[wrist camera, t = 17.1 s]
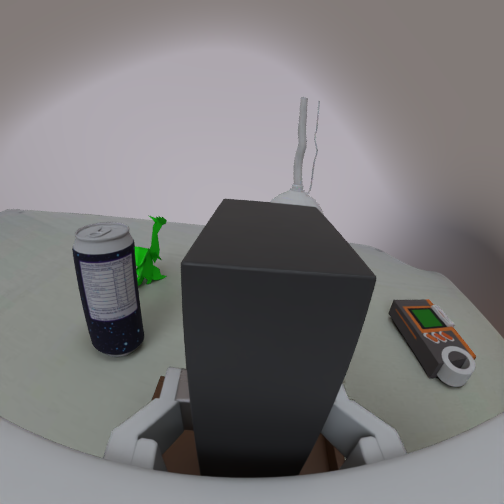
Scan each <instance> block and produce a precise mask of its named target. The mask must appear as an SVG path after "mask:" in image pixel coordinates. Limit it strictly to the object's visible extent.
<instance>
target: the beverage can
mask: <svg viewBox="0 0 504 504" xmlns="http://www.w3.org/2000/svg"><path fill="white" fill-rule="evenodd" d="M75 237H76V239H75V242H74V245H73V249H72V250H73V257H74V263H75V270H76V275H77V281H78V286H79V291H80V296H81V301H82V305H83V310H84V314H85V318H86V322H87V326H88V330H89V334H90V337H91V341H92V344H93V346H94V347H95V348H96V349H97V350H98V351H100V352H102V353H105V354H107V355H109V356H114V357H120V356H125V355H128V354H130V353H132V352H133V351H134V350H135V349H136V348H137V347H138V346H140V344H141V343H142V342H143V340H144V330H143V323H142V316H141V308H140V300H139V292H138V282H137V272H136V259H135V245H134V240H133V238H132V237H131V235H130V233H129V227H128V226H127V225H125V224H122V223H117V222H104V223H96V224H91V225H87V226H84V227H82V228H80V229H78V230H77V231H76V232H75Z"/></svg>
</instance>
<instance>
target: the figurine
mask: <svg viewBox="0 0 504 504" xmlns="http://www.w3.org/2000/svg"><path fill="white" fill-rule="evenodd" d="M150 217H151V216H150ZM151 218H152V219H153V221H154V222H155V224H154V225H153V232H152V242H151V247H150V249H149V248H148V249H147V248H142V247H136V246H135V259H136V266H138V267H137V269H136V272H137V275H138V276H139V277H138V278H137V282H138V286H139V285H141V284H142V282H143V279H144V277H145V278H146V279H147V280H148V281H147V283H146V284H149V283H151V282H152V280H160V279H163V278H165V277H166V276H164V275H161V273H160V269H158V268H157V267H155V266H154V265H153V261H154V263H155V262H156V260H157V258H158V259H160V260H161V258H160V257H159V251H160V249H159V242H158V235H157V234H158V232H159V230H160V228H161V227H162V225H164V224H166V219H164V218H163V217H162V218H161V217H159V218H158V217H156V218H154V217H151ZM152 259H153V260H152Z"/></svg>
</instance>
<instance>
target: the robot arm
mask: <svg viewBox="0 0 504 504" xmlns="http://www.w3.org/2000/svg"><path fill="white" fill-rule="evenodd" d="M184 430H191V431H193V423H192V415H191V407H190V398H189V389H188V379H187V369H184V368H182V369H181V368H174V367H169V368H168V369H167V372H166V376H165V379H164V383H163V387H162V391H161V395H160V399H159V398H155V399H154V400H152V401H151V402H150V403H149V404H147V405H146V406H145V407H143V408H142V409H141V410H139V411H138V412H137V413H135V414H134V415H133V416H131V417H130V418H129V419H127V420H126V421H125V422H123V423H122V424H120V425H119V426H118V427H116V428H115V429H114V430H112V432H111V435H110V438H109V441H108V444H107V447H106V450H105V453H104V457H103V458H101V457H97V456H94V455H91V454H87V453H84V452H81V451H78V450H75V449H72V448H70V447H67V446H64V445H62V444H59V443H56V442H54V441H51V440H49V439H46V438H44V437H42V436H39V435H37V434H35V433H33V432H31V431H28V430H26V429H24V428H22V427H20V426H18V425H16V424H14V423H12V422H10V421H8V420H7V419H5V418H3V417H1V416H0V504H504V412H502V413H500V414H498V415H497V416H495V417H493V418H491V419H489V420H487V421H485V422H483V423H481V424H480V425H477V426H475V427H473V428H471V429H469V430H467V431H465V432H463V433H460V434H458V435H456V436H454V437H451V438H449V439H446V440H444V441H441V442H439V443H436V444H434V445H431V446H428V447H425V448H423V449H420V450H417V451H414V452H411V453H408V454H407V452H406V450H405V448H404V445H403V443H402V441H401V439H400V437H399V434H398V432H397V430H396V429H394V428H393V427H391V426H390V425H388V424H387V423H385V422H384V421H383V420H381V419H380V418H378V417H377V416H375V415H374V414H372V413H371V412H369V411H368V410H367V409H365V408H364V407H362V406H361V405H359V404H358V403H357V402H355V401H354V400H349V398H348V395H347V393H346V390H345V388H344V385H343V383H342V385H341V388H340V390H339V392H338V395H337V397H336V400H335V402H334V404H333V407H332V409H331V411H330V413H329V416H328V418H327V420H326V422H325V424H324V427H323V429H322V431H321V434H322V435H323V436H324V437H325V438H326V439H327V440H328V441H329V442H330V443H331V444H332V445H333V446H334V447H335V448H336V449H337V450H338V451H339V452H340V453H341V454H342V455H343V456H344V457H345V458H346V460H345V462H344V463H343V464H342V466H341V467H340V468H339V470H336V471H330V472H323V473H315V474H307V475H297V476H284V477H264V478H230V477H210V476H198V475H188V474H179V473H172V472H168V471H167V468H166V466H165V463H164V460H163V458H162V454H163V453H164V452H165V451H166V450H167V449H168V448H169V447H170V446H171V445H172V444H173V443H174V442H175V441H176V440H177V438H178V437H179V436H180V435H181V434H182V433H183V432H184Z"/></svg>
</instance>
